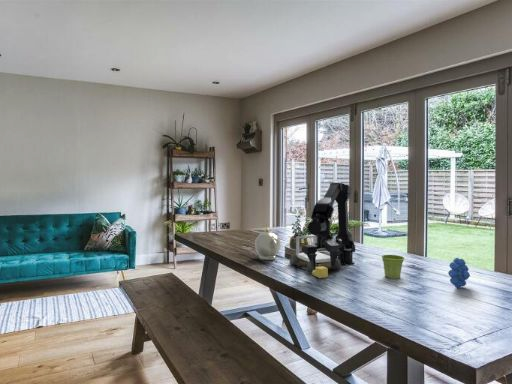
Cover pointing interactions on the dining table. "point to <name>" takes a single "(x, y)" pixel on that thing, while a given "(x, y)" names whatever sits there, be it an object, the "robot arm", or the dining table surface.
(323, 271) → the yellow step block
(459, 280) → the grapes
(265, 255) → the teapot
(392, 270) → the plant pot
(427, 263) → the dining table surface
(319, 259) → the trolley
